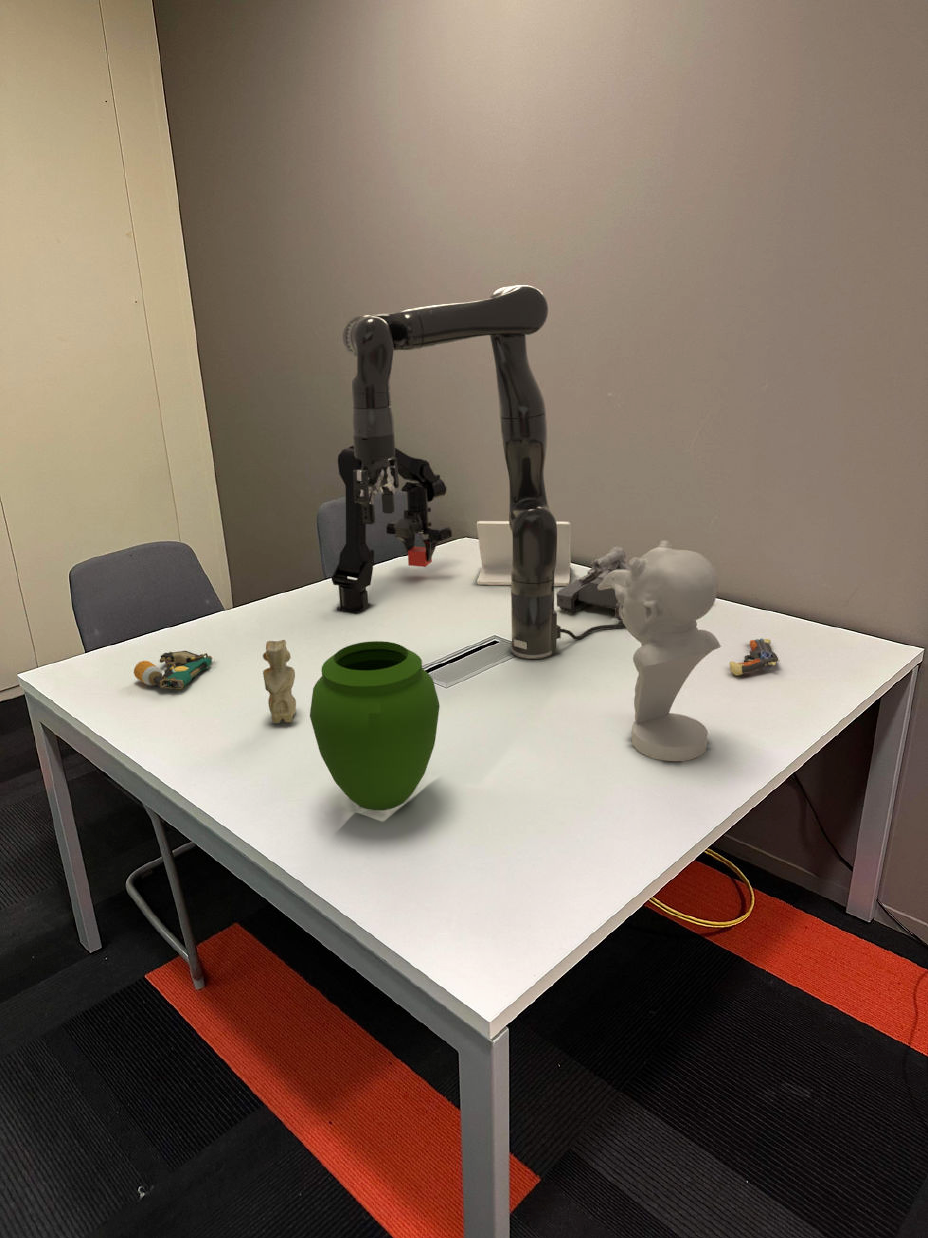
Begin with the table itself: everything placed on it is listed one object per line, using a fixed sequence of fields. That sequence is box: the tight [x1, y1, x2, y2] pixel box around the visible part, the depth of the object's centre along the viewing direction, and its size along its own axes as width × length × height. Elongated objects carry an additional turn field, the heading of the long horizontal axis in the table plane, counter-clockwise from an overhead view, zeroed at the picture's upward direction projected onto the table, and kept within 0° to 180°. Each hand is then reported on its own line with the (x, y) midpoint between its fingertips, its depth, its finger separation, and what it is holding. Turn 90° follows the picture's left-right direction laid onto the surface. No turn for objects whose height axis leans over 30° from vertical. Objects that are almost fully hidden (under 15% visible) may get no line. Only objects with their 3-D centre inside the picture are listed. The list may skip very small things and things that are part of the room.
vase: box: [309, 640, 441, 811], centre depth 130 cm, size 20×20×24 cm
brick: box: [407, 546, 433, 568], centre depth 238 cm, size 5×5×4 cm
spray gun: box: [133, 650, 213, 690], centre depth 180 cm, size 4×17×15 cm
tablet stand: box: [476, 520, 572, 587], centre depth 236 cm, size 18×25×17 cm
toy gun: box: [729, 638, 780, 676], centre depth 179 cm, size 3×19×10 cm
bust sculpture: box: [597, 540, 722, 762], centre depth 146 cm, size 16×24×35 cm
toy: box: [556, 546, 630, 622], centre depth 212 cm, size 25×20×15 cm
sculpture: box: [262, 639, 297, 724], centre depth 158 cm, size 6×7×15 cm
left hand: (419, 560), depth 239 cm, fingers closed on brick, 5 cm apart
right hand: (379, 518), depth 162 cm, fingers open, 8 cm apart
